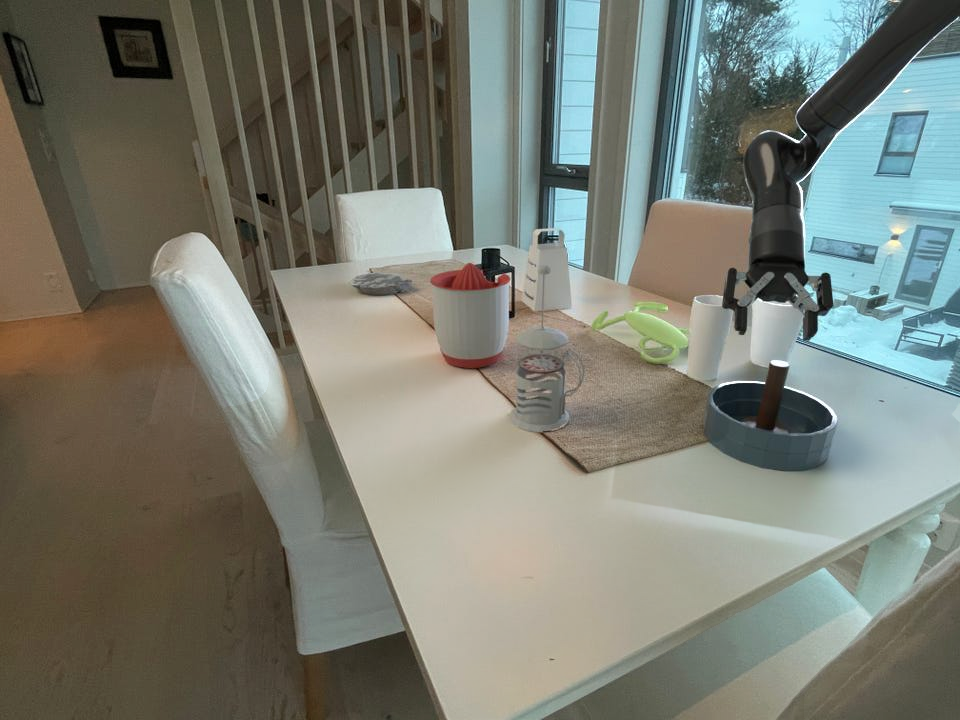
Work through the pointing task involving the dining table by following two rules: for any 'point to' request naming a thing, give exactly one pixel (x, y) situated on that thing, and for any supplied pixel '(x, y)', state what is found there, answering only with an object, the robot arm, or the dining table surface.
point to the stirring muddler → (771, 399)
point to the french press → (547, 406)
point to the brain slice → (380, 283)
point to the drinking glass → (707, 336)
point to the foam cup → (773, 331)
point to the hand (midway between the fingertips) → (774, 335)
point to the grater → (547, 275)
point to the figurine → (650, 330)
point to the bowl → (761, 447)
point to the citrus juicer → (470, 316)
